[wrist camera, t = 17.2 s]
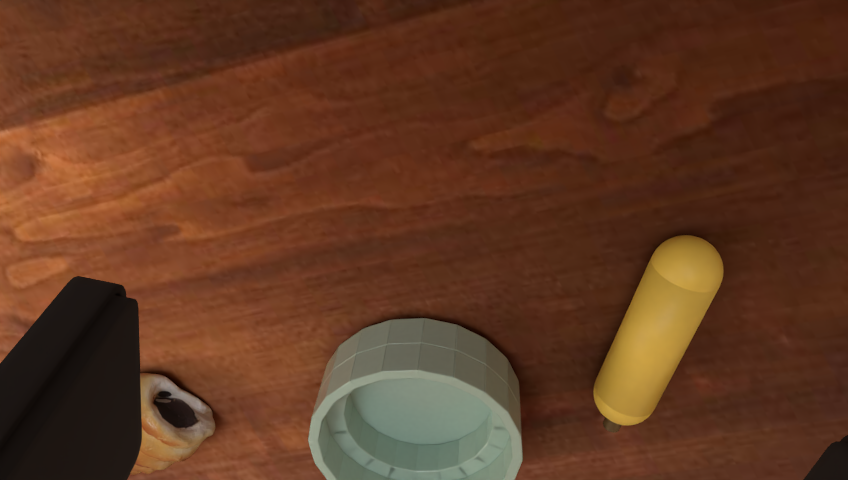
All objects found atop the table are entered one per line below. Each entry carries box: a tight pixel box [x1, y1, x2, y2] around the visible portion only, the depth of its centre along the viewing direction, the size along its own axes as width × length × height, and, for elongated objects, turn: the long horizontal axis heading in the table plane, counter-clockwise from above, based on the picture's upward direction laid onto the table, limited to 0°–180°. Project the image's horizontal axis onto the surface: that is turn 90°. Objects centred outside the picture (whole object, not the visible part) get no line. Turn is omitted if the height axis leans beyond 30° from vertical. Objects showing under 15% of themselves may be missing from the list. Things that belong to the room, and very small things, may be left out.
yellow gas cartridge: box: [593, 235, 724, 432], centre depth 40 cm, size 14×4×4 cm
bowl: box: [308, 318, 523, 480], centre depth 43 cm, size 12×12×5 cm
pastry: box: [130, 373, 215, 475], centre depth 47 cm, size 9×7×4 cm
